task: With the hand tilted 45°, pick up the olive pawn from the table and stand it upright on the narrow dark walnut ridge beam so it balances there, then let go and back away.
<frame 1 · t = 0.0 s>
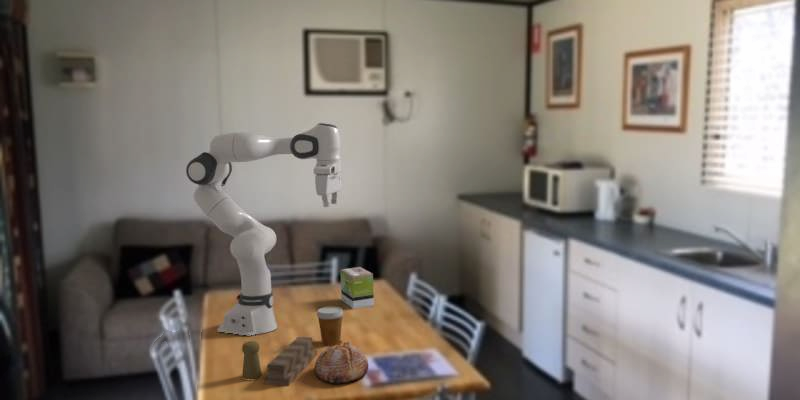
hand: (330, 205, 237), 48 cm above the table, tool pointing down, fingers open, 8 cm apart
olive pawn: (252, 377, 200), on the table
disposable coffee cup: (331, 343, 230), on the table
ridge stand: (291, 368, 206), on the table
bread: (341, 374, 201), on the table
tea box: (357, 304, 280), on the table
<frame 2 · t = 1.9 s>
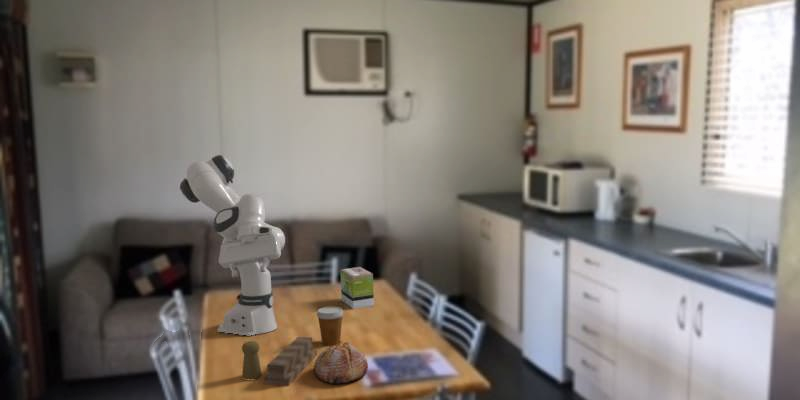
hand: (248, 273, 206), 30 cm above the table, tool tilted 40°, fingers open, 8 cm apart
nothing on the table moved.
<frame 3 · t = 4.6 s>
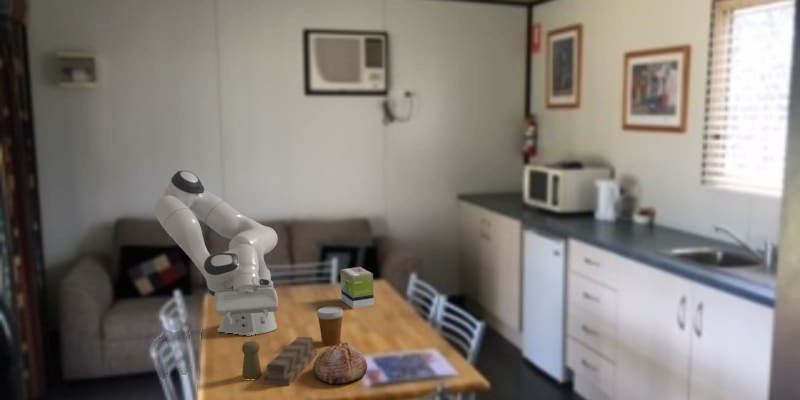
hand: (247, 324, 207), 14 cm above the table, tool tilted 45°, fingers open, 8 cm apart
nothing on the table moved.
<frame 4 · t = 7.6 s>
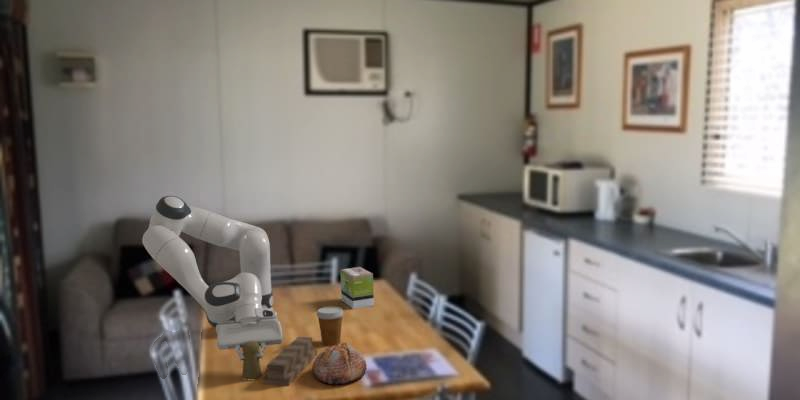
hand: (251, 358, 198), 6 cm above the table, tool tilted 45°, fingers closed on olive pawn, 4 cm apart
olive pawn: (252, 377, 200), on the table, touching gripper
everything else where it was.
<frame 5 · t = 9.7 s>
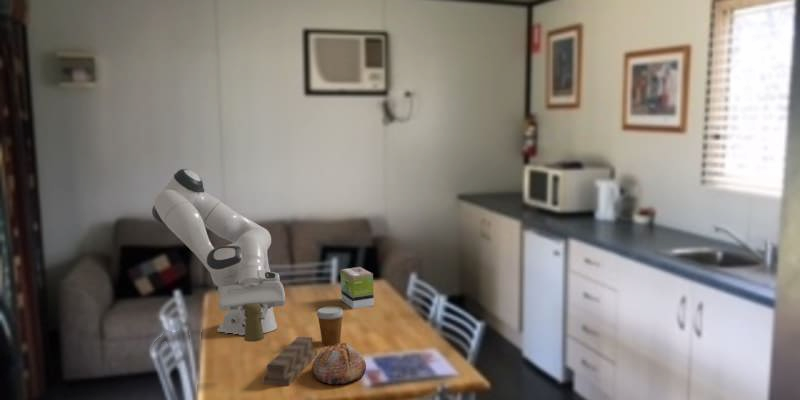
hand: (253, 319, 198), 18 cm above the table, tool tilted 45°, fingers closed on olive pawn, 4 cm apart
olive pawn: (254, 339, 199), point 12 cm above the table, touching gripper
when the fingers open (13 cm above the table, at t = 12.0 s): olive pawn stays where it is, resting on ridge stand.
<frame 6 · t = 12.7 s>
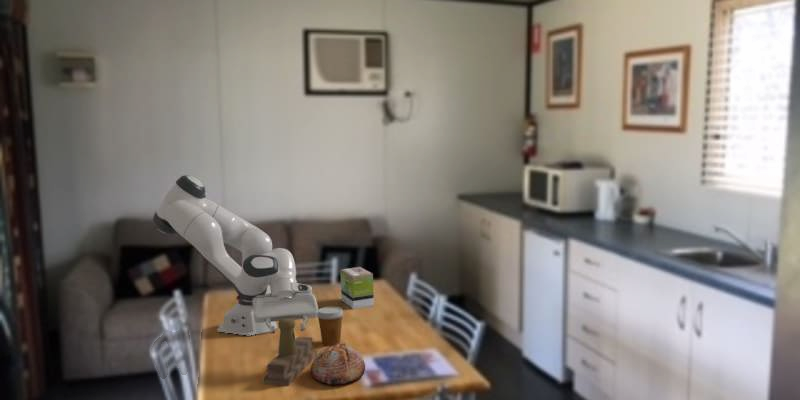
hand: (287, 331, 202), 13 cm above the table, tool tilted 45°, fingers open, 8 cm apart
olive pawn: (288, 353, 203), point 6 cm above the table, touching ridge stand
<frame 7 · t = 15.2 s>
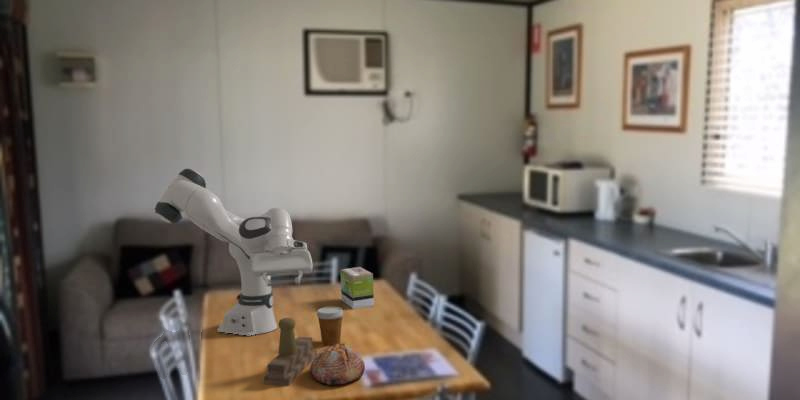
hand: (283, 284, 211), 25 cm above the table, tool tilted 45°, fingers open, 8 cm apart
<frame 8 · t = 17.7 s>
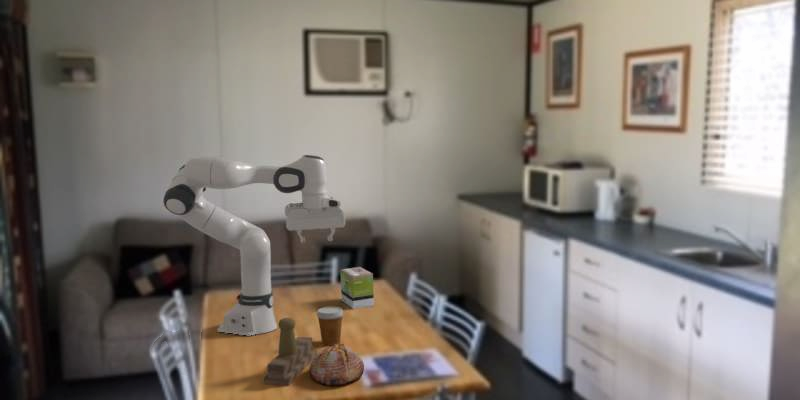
hand: (316, 241, 223), 37 cm above the table, tool pointing down, fingers open, 8 cm apart
at the end: olive pawn inside the target area on the ridge stand (2.0 cm from its centre), point 5.8 cm above the ridge stand's base; olive pawn tilted 0°; the gripper is holding nothing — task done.
